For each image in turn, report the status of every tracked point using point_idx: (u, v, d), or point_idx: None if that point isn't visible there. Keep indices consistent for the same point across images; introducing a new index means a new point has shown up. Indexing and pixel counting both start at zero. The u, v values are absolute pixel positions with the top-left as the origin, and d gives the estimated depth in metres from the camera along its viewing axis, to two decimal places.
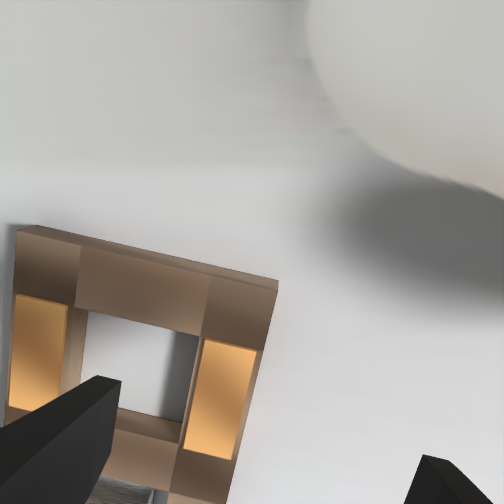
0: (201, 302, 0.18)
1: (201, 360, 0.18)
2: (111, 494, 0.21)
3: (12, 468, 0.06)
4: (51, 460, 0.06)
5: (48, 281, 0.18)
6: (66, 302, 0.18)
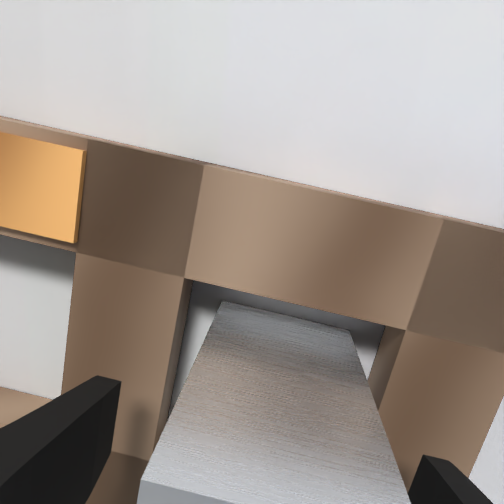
0: None
1: None
2: None
3: (12, 468, 0.06)
4: (51, 460, 0.06)
5: None
6: None
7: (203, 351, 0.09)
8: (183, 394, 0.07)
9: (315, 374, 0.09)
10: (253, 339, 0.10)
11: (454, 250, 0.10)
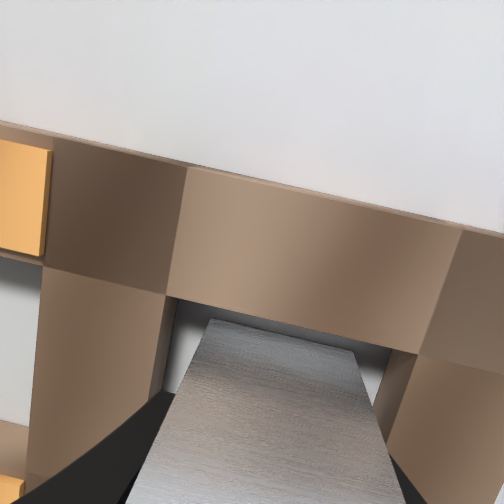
0: None
1: None
2: None
3: (114, 494, 0.06)
4: None
5: None
6: None
7: (185, 385, 0.08)
8: (156, 446, 0.06)
9: (316, 411, 0.08)
10: (244, 366, 0.09)
11: (474, 264, 0.08)
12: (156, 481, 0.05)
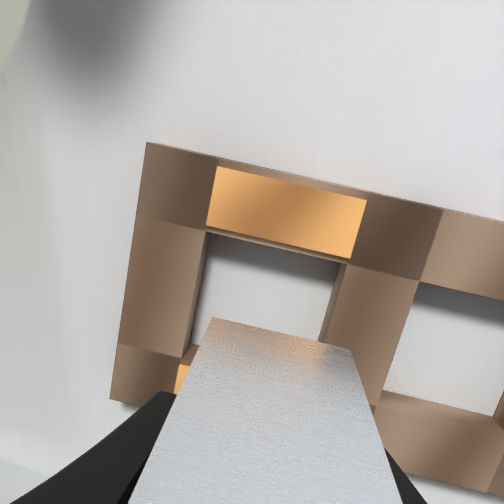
0: (166, 227, 0.16)
1: (234, 230, 0.16)
2: None
3: (114, 494, 0.06)
4: None
5: (156, 379, 0.18)
6: (176, 365, 0.18)
7: (188, 381, 0.08)
8: (161, 439, 0.06)
9: (314, 406, 0.08)
10: (245, 364, 0.09)
11: None
12: (162, 471, 0.06)
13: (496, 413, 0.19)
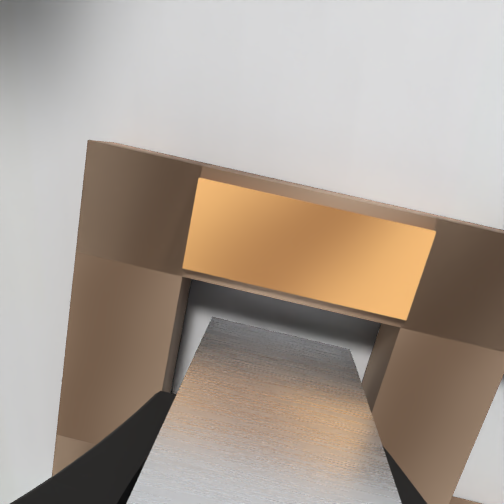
0: (122, 270, 0.11)
1: (225, 276, 0.10)
2: None
3: (114, 494, 0.06)
4: None
5: None
6: None
7: (187, 381, 0.08)
8: (160, 438, 0.06)
9: (313, 405, 0.08)
10: (244, 363, 0.09)
11: None
12: (161, 470, 0.06)
13: None
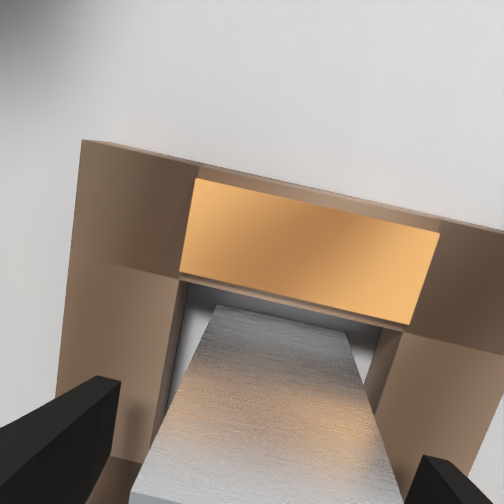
0: (117, 273, 0.10)
1: (223, 279, 0.10)
2: None
3: (12, 468, 0.06)
4: (51, 460, 0.06)
5: (111, 492, 0.12)
6: None
7: (197, 357, 0.09)
8: (175, 401, 0.07)
9: (310, 378, 0.09)
10: (248, 343, 0.10)
11: None
12: (177, 426, 0.07)
13: None
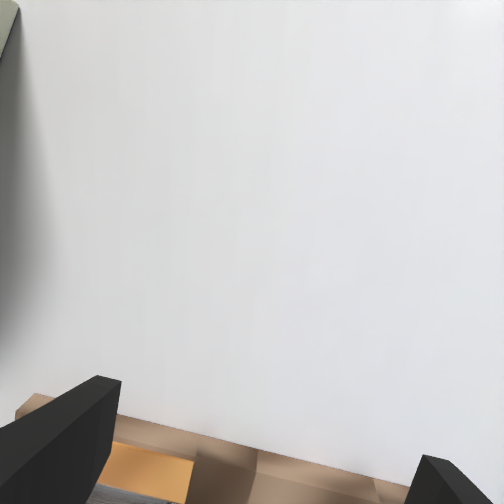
0: None
1: None
2: None
3: (12, 468, 0.06)
4: (51, 460, 0.06)
5: None
6: None
7: None
8: None
9: None
10: None
11: None
12: None
13: None
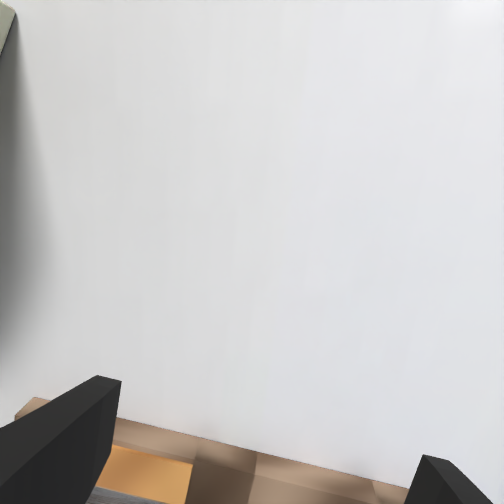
0: None
1: None
2: None
3: (12, 468, 0.06)
4: (51, 460, 0.06)
5: None
6: None
7: None
8: None
9: None
10: None
11: None
12: None
13: None
